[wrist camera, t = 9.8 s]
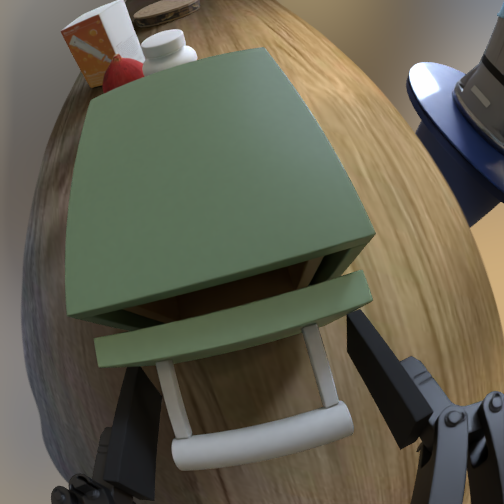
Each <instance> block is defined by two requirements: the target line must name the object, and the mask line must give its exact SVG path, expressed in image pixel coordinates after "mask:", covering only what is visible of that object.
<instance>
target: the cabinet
mask: <svg viewBox="0 0 504 504" xmlns="http://www.w3.org/2000/svg"><path fill="white" fill-rule="evenodd" d="M375 234H376V233H375V230H374V228H373V226H372V224H371V221H370V219H369V217H368V215H367V213H366V211H365V209H364V206H363V204H362V202H361V200H360V198H359V196H358V194H357V192H356V190H355V188H354V186H353V184H352V182H351V180H350V178H349V177H348V175H347V173H346V171H345V169H344V167H343V165H342V164H341V162H340V160H339V158H338V156H337V155H336V153H335V151H334V149H333V148H332V146H331V144H330V142H329V141H328V139H327V137H326V136H325V134H324V132H323V131H322V129H321V127H320V126H319V124H318V123H317V121H316V119H315V118H314V116H313V115H312V113H311V112H310V110H309V108H308V107H307V105H306V104H305V102H304V101H303V99H302V98H301V96H300V95H299V94H298V92H297V91H296V89H295V88H294V86H293V85H292V83H291V82H290V81H289V79H288V78H287V77H286V75H285V74H284V72H283V71H282V70H281V68H280V67H279V66H278V64H277V63H276V62H275V60H274V59H273V58H272V57H271V55H270V54H269V53H268V52H267V50H266V49H265V48H264V47H261V48H254V49H248V50H242V51H236V52H231V53H226V54H221V55H217V56H212V57H208V58H204V59H200V60H196V61H192V62H188V63H185V64H181V65H178V66H175V67H172V68H168V69H165V70H162V71H159V72H156V73H153V74H151V75H148V76H145V77H142V78H140V79H137V80H135V81H132V82H130V83H127V84H125V85H122V86H120V87H118V88H115V89H113V90H111V91H109V92H107V93H104V94H102V95H100V96H98V97H96V98H94V99H92V100H91V101H90V104H89V107H88V111H87V114H86V118H85V121H84V125H83V129H82V133H81V137H80V141H79V146H78V150H77V155H76V160H75V166H74V171H73V177H72V183H71V190H70V198H69V206H68V216H67V228H66V246H65V295H66V312H67V316H68V317H72V318H76V319H80V320H84V321H88V322H92V323H96V324H101V325H105V326H109V327H114V328H118V329H123V330H128V331H133V330H138V329H143V328H148V327H152V326H157V325H162V324H166V323H163V322H160V321H157V320H154V319H151V318H147V317H144V316H141V315H138V314H135V313H132V312H129V311H126V310H123V309H125V308H129V307H133V306H137V305H142V304H146V303H150V302H154V301H158V300H162V299H166V298H170V297H174V296H178V295H182V294H186V293H190V292H194V291H198V290H201V289H205V288H209V287H213V286H217V285H221V284H224V283H228V282H232V281H236V280H239V279H243V278H247V277H250V276H254V275H258V274H261V273H265V272H269V271H272V270H276V269H279V268H283V267H287V266H290V265H294V264H297V263H301V262H304V261H308V260H311V259H315V258H318V257H322V256H324V257H323V259H322V261H321V263H320V265H319V267H318V268H317V270H316V272H315V274H314V276H313V278H312V280H311V282H310V283H309V285H308V286H311V285H314V284H318V283H321V282H324V281H327V280H331V279H334V278H337V277H340V276H341V275H342V274H343V272H344V271H345V270H346V269H347V268H348V267H349V265H350V264H351V263H352V262H353V261H354V259H355V258H356V257H357V256H358V255H359V253H360V252H361V251H362V250H363V249H364V247H365V246H366V245H367V244H368V243H369V242H370V240H371V239H372V238H373V237H374V235H375Z"/></svg>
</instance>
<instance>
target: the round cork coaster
mask: <svg viewBox="0 0 504 504" xmlns="http://www.w3.org/2000/svg"><path fill="white" fill-rule="evenodd" d="M199 8H200V2H199V0H162V1H159V2H156V3H154V4H151V5H149V6H147V7H145V8H143V9H141V10H139V11H138V12H137V13H135V15H134V18H135V21H136V24H137V26H138V27H149V26H154V25H158V24H162V23H166V22H169V21H172V20H175V19H178V18H181V17H184V16H186V15H189V14H191V13H193V12H195V11H197V10H198V9H199Z"/></svg>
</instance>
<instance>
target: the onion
mask: <svg viewBox="0 0 504 504" xmlns="http://www.w3.org/2000/svg"><path fill="white" fill-rule="evenodd" d="M142 68H143V63H141V62H140V61H137V60H135V59H131V58H122V57H121V56H120V54H119V53H118V54H116V55H115V56H113V59H112V61H111V63H110V65H109V66H108V68H107V70H106V72H105V74H104V78H103V85H102V86H103V92H104V93H107V92H109V91H111V90H113V89H115V88H118V87H120V86H122V85H125V84H127V83H130V82H132V81H135V80H137V79H140V78H142V77H144V74H143V70H142Z"/></svg>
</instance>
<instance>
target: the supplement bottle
mask: <svg viewBox="0 0 504 504" xmlns="http://www.w3.org/2000/svg"><path fill="white" fill-rule="evenodd" d="M185 44H186V42H185V38H184V35H183V32H182V31H181V30H178V29H174V30H167V31H163V32H160V33H157V34H155V35H152V36H151V37H149V38H147V39H146V40H144V41H143V42H142V44H141V49H142V51H143V55H144V56H145V58H147V60H146V61H145V62H144V64H143V68H142V70H143V74H144V77H145V76H148V75H151V74H153V73H156V72H159V71H162V70H165V69H168V68H172V67H175V66H178V65H181V64H185V63H188V62H192V61H196V60H198V58H197V55H196V52H195V50H194V49H193V48H191V47H189V46H185Z"/></svg>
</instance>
